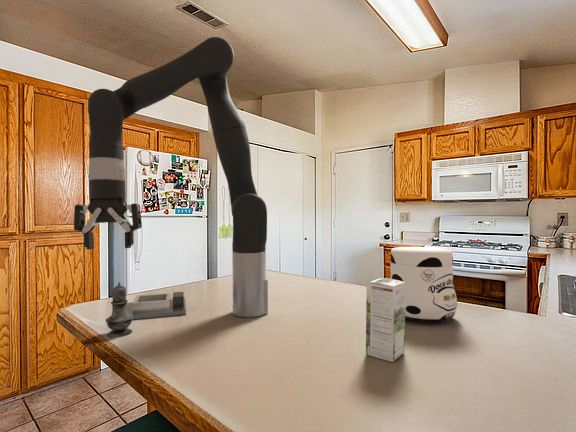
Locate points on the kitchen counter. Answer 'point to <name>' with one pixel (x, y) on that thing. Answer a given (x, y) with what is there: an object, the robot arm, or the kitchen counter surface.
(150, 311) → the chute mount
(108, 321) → the grey chess piece
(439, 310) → the milk container
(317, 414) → the kitchen counter surface
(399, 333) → the syrup box
